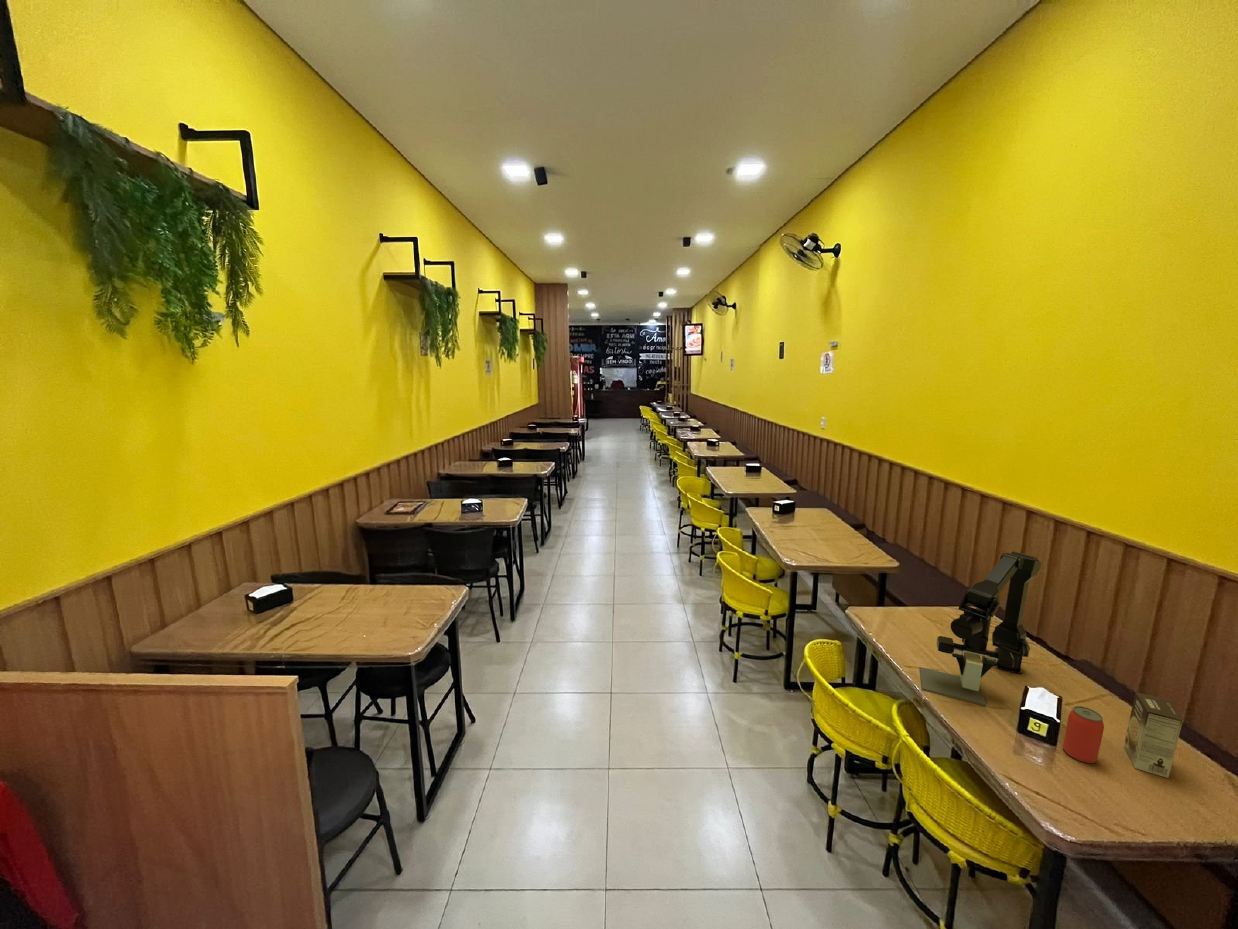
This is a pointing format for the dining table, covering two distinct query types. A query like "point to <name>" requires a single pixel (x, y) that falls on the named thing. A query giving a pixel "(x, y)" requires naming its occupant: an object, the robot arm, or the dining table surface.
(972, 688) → the pale green block
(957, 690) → the mat
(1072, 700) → the dining table surface
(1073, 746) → the beer can
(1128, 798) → the dining table surface
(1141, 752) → the coffee box
